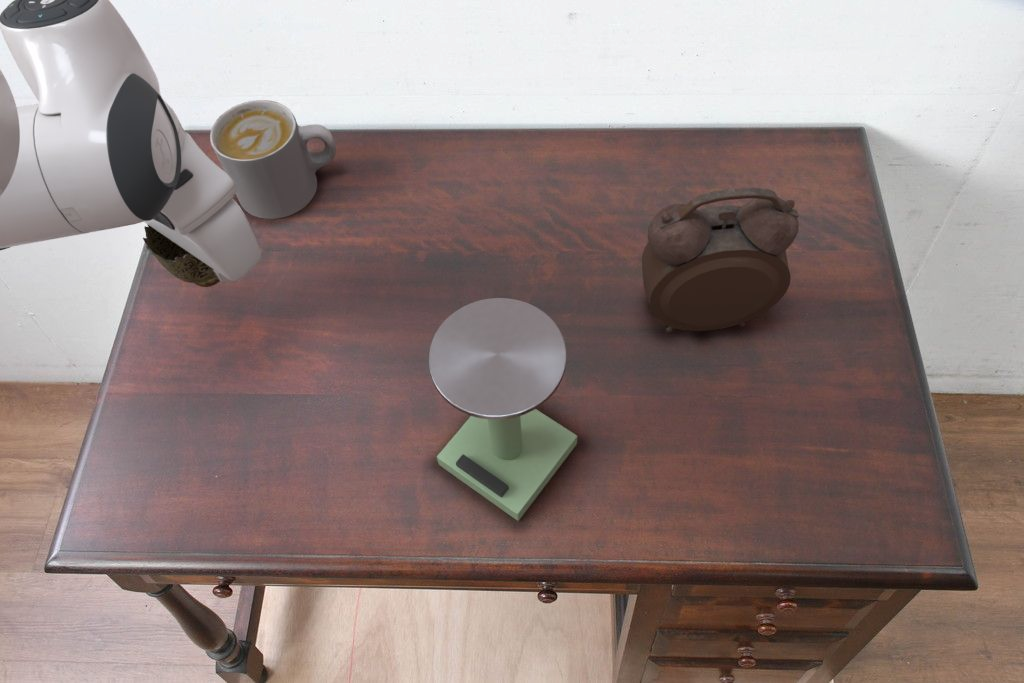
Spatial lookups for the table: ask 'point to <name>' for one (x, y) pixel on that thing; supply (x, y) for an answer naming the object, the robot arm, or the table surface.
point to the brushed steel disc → (497, 358)
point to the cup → (178, 259)
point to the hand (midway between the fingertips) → (199, 257)
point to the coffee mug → (270, 157)
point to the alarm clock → (718, 259)
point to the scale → (508, 457)
